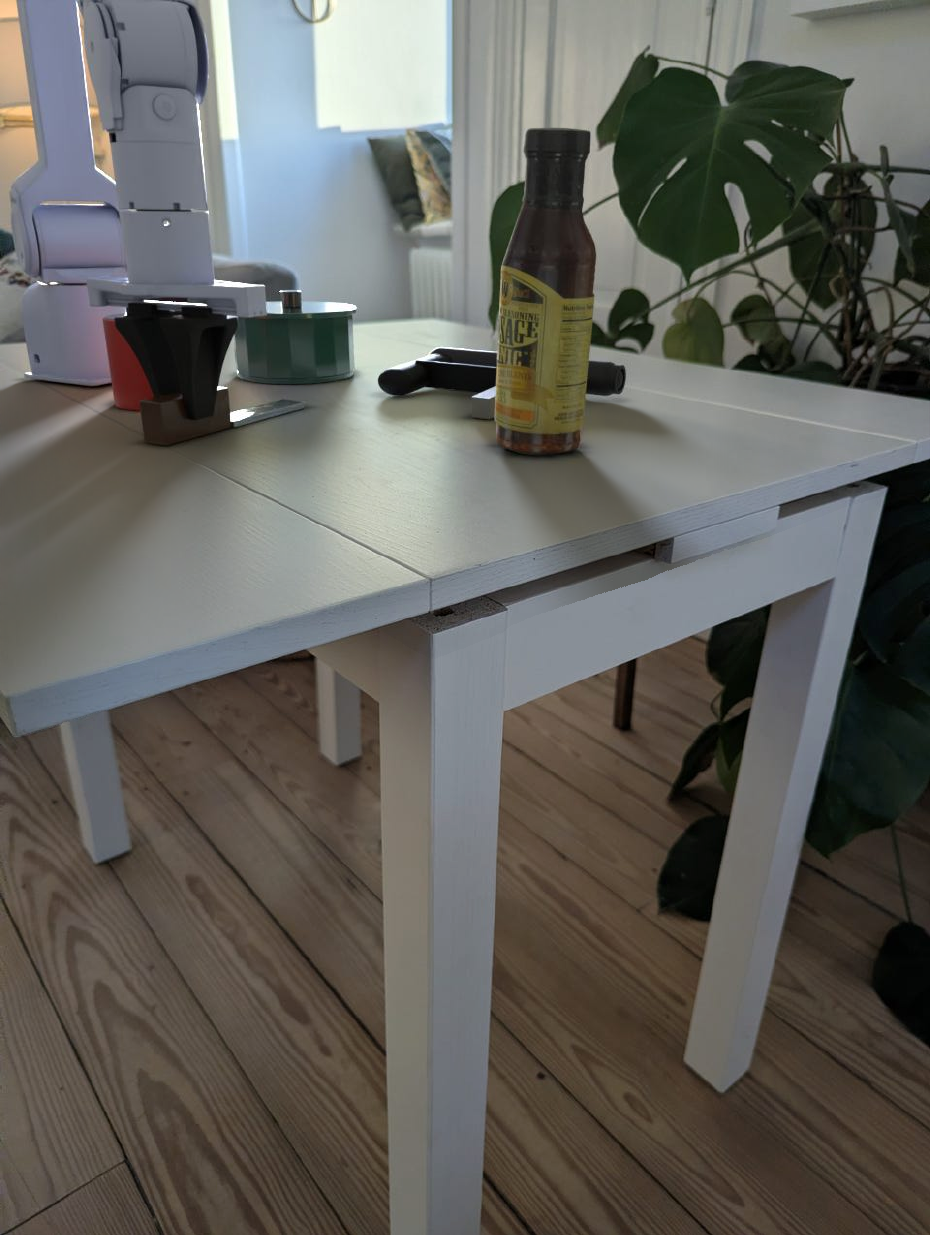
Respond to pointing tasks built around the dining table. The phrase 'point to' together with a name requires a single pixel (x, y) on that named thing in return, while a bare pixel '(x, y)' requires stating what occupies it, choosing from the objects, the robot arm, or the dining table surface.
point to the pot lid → (304, 308)
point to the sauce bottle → (546, 301)
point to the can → (124, 368)
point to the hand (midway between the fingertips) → (187, 415)
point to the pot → (294, 350)
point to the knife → (172, 425)
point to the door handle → (480, 376)
